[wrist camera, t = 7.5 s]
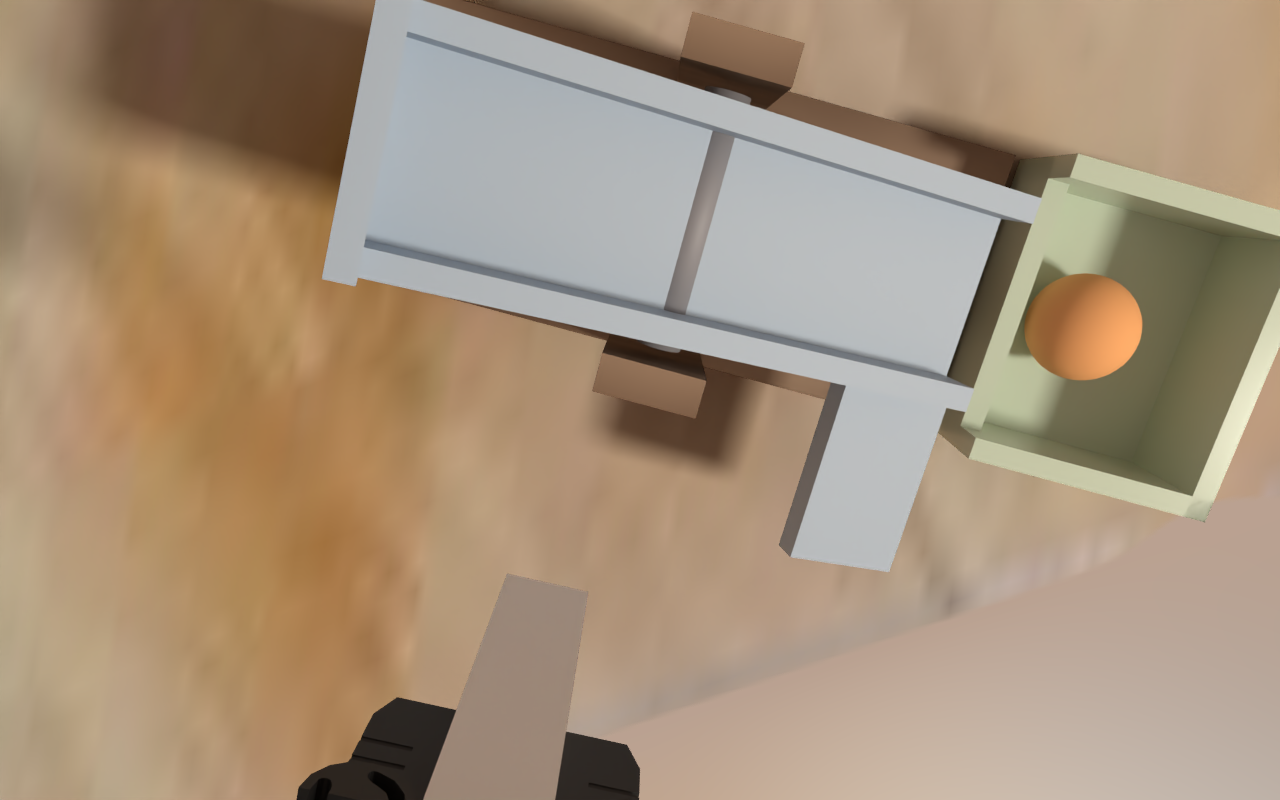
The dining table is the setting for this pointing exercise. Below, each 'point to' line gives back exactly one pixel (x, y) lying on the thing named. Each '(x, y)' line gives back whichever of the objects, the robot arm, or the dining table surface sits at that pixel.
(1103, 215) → the dish
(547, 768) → the robot arm
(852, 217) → the lever
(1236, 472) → the dining table surface
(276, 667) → the dining table surface
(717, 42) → the stand
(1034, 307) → the ball
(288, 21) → the dining table surface
